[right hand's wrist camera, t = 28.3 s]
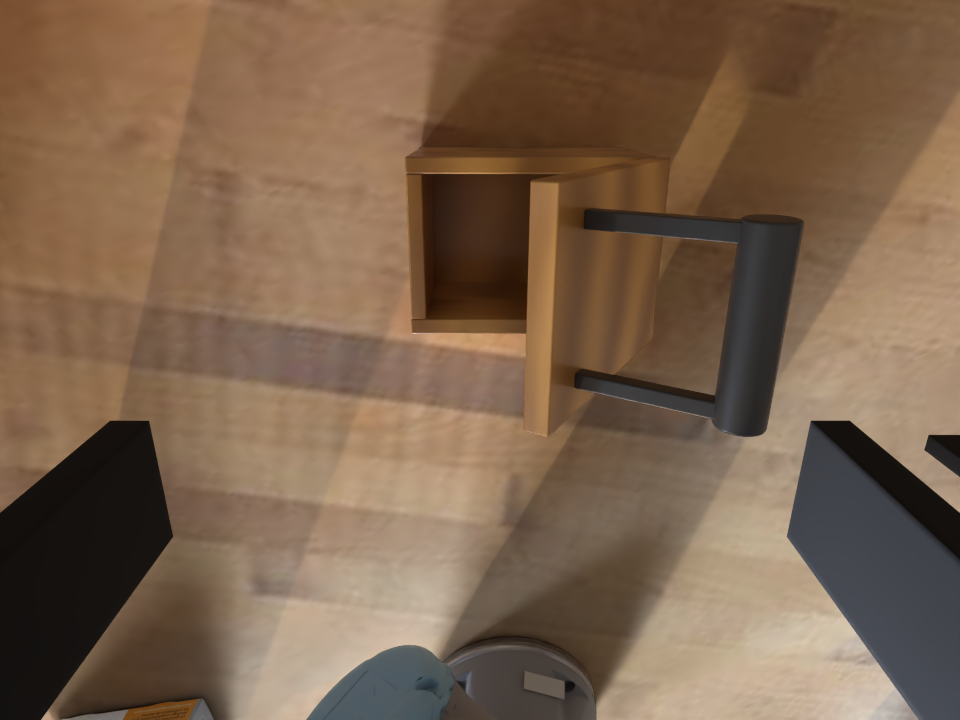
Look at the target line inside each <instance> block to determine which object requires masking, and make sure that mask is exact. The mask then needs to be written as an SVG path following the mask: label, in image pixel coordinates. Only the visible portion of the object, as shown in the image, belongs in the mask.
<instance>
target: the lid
mask: <svg viewBox="0 0 960 720" xmlns="http://www.w3.org/2000/svg"><path fill="white" fill-rule="evenodd" d="M670 161H671V160H670V158H651V157H650V158H645V159H640V160H634V161H629V162H624V163H619V164H613V165H608V166H603V167H598V168H592V169H587V170H582V171H576V172H571V173H566V174H561V175H555V176H550V177H545V178H539V179H534V180H531V188H530V223H529V258H528V293H527V329H526V364H525V399H524V431H527V432H531V433H534V434H538V435H542V436H545V437H549V436H550V435H551V434H552V433H553V432H554V431H555V430H556V429H557V428H558V427H559V426H561V425H562V424H563V423H564V422H565V421H566V420H567V419H568V418H569V417H570V416H571V415H572V414H573V413H574V412H575V411H576V410H577V409H578V408H580V407H581V406H582V405H583V404H584V403H585V402H586V401H587V400H588V399H589V398H590V397H591V396H592V395H593V394H594V393H597V394H602V395H606V396H611V397H615V398H620V399H624V400H629V401H633V402H638V403H642V404H647V405H651V406H656V407H660V408H664V409H669V410H673V411H678V412H682V413H687V414H691V415H696V416H700V417H705V418H709V419H712V422H713V425H714V426H715V427H716V428H718V429H719V430H721V431H723V432H726V433H728V434H732V435H736V436H743V437H753V436H759V435H761V434H763V433H764V432H765V431H766V429H767V424H768V419H769V413H770V408H771V402H772V397H773V392H774V386H775V381H776V375H777V370H778V364H779V359H780V353H781V348H782V342H783V337H784V331H785V326H786V320H787V315H788V309H789V304H790V298H791V293H792V287H793V282H794V276H795V271H796V265H797V260H798V254H799V249H800V243H801V238H802V232H803V227H804V221H803V220H801V219H799V218H795V217H789V216H781V215H748V216H744V217H742V219H729V218H716V217H703V216H690V215H678V214H665V209H666V200H667V190H668V180H669V171H670ZM663 237H672V238H682V239H693V240H703V241H714V242H724V243H735V244H737V250H736V257H735V264H734V271H733V278H732V284H731V291H730V298H729V305H728V312H727V319H726V325H725V332H724V339H723V346H722V353H721V359H720V366H719V373H718V380H717V387H716V394H715V396H714V395H709V394H704V393H699V392H694V391H689V390H684V389H680V388H675V387H670V386H665V385H660V384H655V383H651V382H646V381H641V380H636V379H631V378H626V377H621V376H617V375H614V374H615V373H616V372H618V371H619V370H620V369H621V368H622V367H623V366H624V365H625V364H626V363H627V362H628V361H629V360H630V359H631V358H632V357H633V356H634V355H635V354H637V353H638V352H639V351H640V350H641V349H642V348H643V347H644V346H645V345H646V344H647V343H648V342H649V341H650V340H651V339H652V335H653V325H654V315H655V306H656V296H657V286H658V277H659V267H660V257H661V248H662V238H663Z"/></svg>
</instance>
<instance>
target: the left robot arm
mask: <svg viewBox="0 0 960 720" xmlns="http://www.w3.org/2000/svg"><path fill="white" fill-rule="evenodd" d="M925 451H926V452H928V453H929V454H930V455H932V456H933V457H934V458H936V459H937V460H938V461H940V462H941V463H942V464H944V465H945V466H946V467H947V468H949V469H950V470H951V471H953V472H954V473H955V474H957V475H958V476H959V477H960V435H929V436H928V439H927V443H926V447H925ZM307 720H596V703H595V697H594V692H593V688H592V684H591V681H590V679H589V677H588V675H587V673H586V672H585V670H584V669H583V667H582V666H581V665H580V664H579V663H578V662H577V661H576V660H575V659H574V658H573V657H572V656H570V655H569V654H567V653H566V652H564V651H563V650H561V649H559V648H557V647H555V646H553V645H550V644H548V643H545V642H542V641H538V640H534V639H529V638H520V637H502V638H493V639H488V640H484V641H480V642H477V643H474V644H471V645H469V646H466V647H464V648H462V649H460V650H459V651H457V652H455V653H454V654H452V655H451V656H450V657H448V658H447V659H446V660H445V661H444V662H443V663H442V662H441V661H440V660H439V659H438V658H437V657H436V656H435V655H434V654H433V653H432V652H430V651H429V650H427V649H426V648H423V647H420V646H416V645H403V646H398V647H394V648H391V649H388V650H385V651H383V652H381V653H379V654H377V655H376V656H374V657H373V658H371V659H369V660H366V661H365V662H363V663H362V664H360V665H359V666H358V667H356V668H355V669H354V670H352V671H351V672H350V673H348V674H347V675H346V676H345V677H344V678H343V679H342V680H341V681H339V682H338V683H337V684H336V685H335V686H334V687H333V688H332V689H331V690H330V691H329V692H328V694H327V695H326V696H325V697H324V698H323V699H322V700H321V701H320V703H319V704H318V705H317V706H316V707H315V709H314V710H313V711H312V713H311V714H310V715H309V717H308V718H307Z"/></svg>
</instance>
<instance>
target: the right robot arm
mask: <svg viewBox="0 0 960 720" xmlns="http://www.w3.org/2000/svg"><path fill="white" fill-rule="evenodd" d="M172 537H173V534H172V529H171V524H170V520H169V515H168V510H167V505H166V500H165V495H164V491H163V486H162V481H161V476H160V471H159V467H158V462H157V457H156V452H155V447H154V443H153V438H152V433H151V428H150V423H149V421H110V422H108V423H107V424H106V425H105V426H104V427H102V428H101V429H100V430H99V431H98V432H96V433H95V434H94V435H93V436H92V437H90V438H89V439H88V440H87V441H86V442H84V443H83V444H82V445H81V446H80V447H78V448H77V449H76V450H75V451H74V452H72V453H71V454H70V455H69V456H68V457H67V458H65V459H64V460H63V461H62V462H61V463H59V464H58V465H57V466H56V467H55V468H53V469H52V470H51V471H50V472H49V473H47V474H46V475H45V476H44V477H43V478H41V479H40V480H39V481H38V482H37V483H35V484H34V485H33V486H32V487H31V488H29V489H28V490H27V491H26V492H25V493H24V494H22V495H21V496H20V497H19V498H18V499H16V500H15V501H14V502H13V503H12V504H10V505H9V506H8V507H7V508H6V509H4V510H3V511H2V512H1V513H0V720H41V719H42V717H43V716H44V715H45V713H46V712H47V711H48V709H49V708H50V706H51V705H52V704H53V702H54V701H55V699H56V698H57V697H58V695H59V694H60V693H61V691H62V690H63V688H64V687H65V686H66V684H67V683H68V681H69V680H70V679H71V677H72V676H73V675H74V673H75V672H76V670H77V669H78V668H79V666H80V665H81V663H82V662H83V661H84V659H85V658H86V657H87V655H88V654H89V652H90V651H91V650H92V648H93V647H94V645H95V644H96V643H97V641H98V640H99V639H100V637H101V636H102V634H103V633H104V632H105V630H106V629H107V627H108V626H109V625H110V623H111V622H112V621H113V619H114V618H115V616H116V615H117V614H118V612H119V611H120V609H121V608H122V607H123V605H124V604H125V603H126V601H127V600H128V598H129V597H130V596H131V594H132V593H133V591H134V590H135V589H136V587H137V586H138V585H139V583H140V582H141V580H142V579H143V578H144V576H145V575H146V573H147V572H148V571H149V569H150V568H151V566H152V565H153V564H154V562H155V561H156V560H157V558H158V557H159V555H160V554H161V553H162V551H163V550H164V548H165V547H166V546H167V544H168V543H169V542H170V540H171V539H172ZM787 537H788V539H789V540H790V542H791V543H792V544H793V546H794V547H795V548H796V550H797V551H798V553H799V554H800V555H801V557H802V558H803V560H804V561H805V562H806V564H807V565H808V566H809V568H810V569H811V571H812V572H813V573H814V575H815V576H816V578H817V579H818V580H819V582H820V583H821V585H822V586H823V587H824V589H825V590H826V591H827V593H828V594H829V596H830V597H831V598H832V600H833V601H834V603H835V604H836V605H837V607H838V608H839V609H840V611H841V612H842V614H843V615H844V616H845V618H846V619H847V621H848V622H849V623H850V625H851V626H852V627H853V629H854V630H855V632H856V633H857V634H858V636H859V637H860V639H861V640H862V641H863V643H864V644H865V645H866V647H867V648H868V650H869V651H870V652H871V654H872V655H873V657H874V658H875V659H876V661H877V662H878V663H879V665H880V666H881V668H882V669H883V670H884V672H885V673H886V675H887V676H888V677H889V679H890V680H891V681H892V683H893V684H894V686H895V687H896V688H897V690H898V691H899V693H900V694H901V695H902V697H903V698H904V699H905V701H906V702H907V704H908V705H909V706H910V708H911V709H912V711H913V712H914V713H915V715H916V716H917V717H918V719H919V720H960V513H959V512H958V511H957V510H956V509H954V508H953V507H952V506H951V505H950V504H948V503H947V502H946V501H945V500H944V499H942V498H941V497H940V496H939V495H938V494H936V493H935V492H934V491H933V490H932V489H931V488H929V487H928V486H927V485H926V484H925V483H923V482H922V481H921V480H920V479H919V478H917V477H916V476H915V475H914V474H913V473H911V472H910V471H909V470H908V469H907V468H905V467H904V466H903V465H902V464H901V463H899V462H898V461H897V460H896V459H895V458H893V457H892V456H891V455H890V454H889V453H888V452H886V451H885V450H884V449H883V448H882V447H880V446H879V445H878V444H877V443H876V442H874V441H873V440H872V439H871V438H870V437H868V436H867V435H866V434H865V433H864V432H862V431H861V430H860V429H859V428H858V427H856V426H855V425H854V424H853V423H852V422H850V421H811V423H810V428H809V433H808V438H807V443H806V447H805V452H804V457H803V462H802V467H801V471H800V476H799V481H798V486H797V491H796V495H795V500H794V505H793V510H792V515H791V520H790V524H789V529H788V534H787Z"/></svg>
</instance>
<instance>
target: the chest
mask: <svg viewBox="0 0 960 720" xmlns="http://www.w3.org/2000/svg"><path fill="white" fill-rule="evenodd" d="M650 157H651V158H656V157H654V156H650V155H646V154H642V153H638V152H635V151H631V150H627V149H624V148H621V147H420V148H419V149H418V150H417V151H415V152H413V153H412V154H410V155H408V156H407V157H405V167H406V173H407V174H406V192H407V218H408V243H409V268H410V293H411V318H412V333H446V334H526V329H527V293H528V258H529V223H530V188H531V180H534V179H539V178H545V177H550V176H555V175H561V174H566V173H571V172H576V171H582V170H587V169H592V168H598V167H603V166H608V165H613V164H619V163H624V162H629V161H634V160H640V159H645V158H650Z"/></svg>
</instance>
